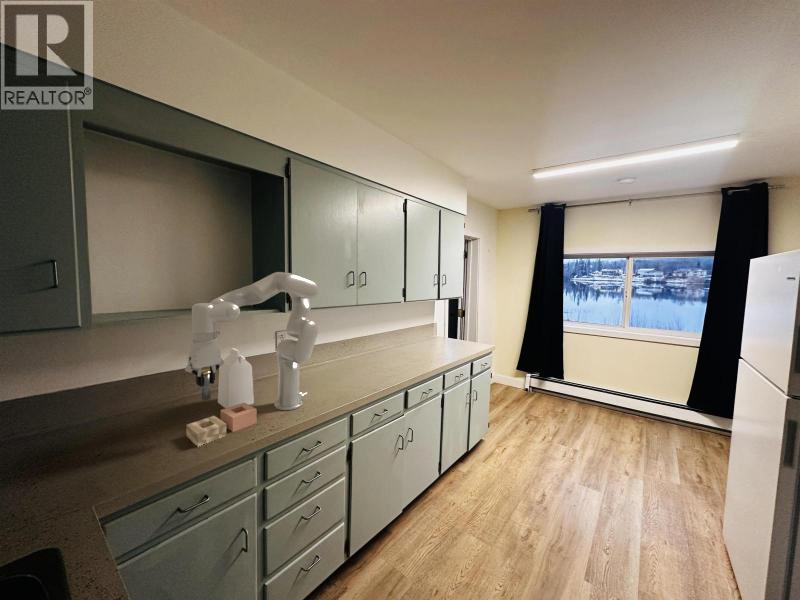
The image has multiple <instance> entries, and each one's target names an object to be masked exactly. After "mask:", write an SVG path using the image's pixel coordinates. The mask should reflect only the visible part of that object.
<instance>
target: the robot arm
mask: <svg viewBox="0 0 800 600" xmlns="http://www.w3.org/2000/svg"><path fill="white" fill-rule="evenodd" d="M279 293H287V294H288V295H289V296H290V299H291V301H292V307H291V311H290V315H289V318H288V321H287V324H286V328H285V331H286V332H285V333H286V334H287V335H288V336H289V337H292V338H296V339H297V340H293V339H291V338H289V339H288V338H285V339H282V340H280V342H278V343H277V346H276V349H275V353H276V360H277V371H278V372H277V379H278V380H277V388H278V389H277V400H276V401H275V402H274V408H275V409H277V410H279V411H291V410H296V409H298V408H300V407H301V406H302V405H303V400H302V399H303V398H305V397H307V396H308V394H309V393H308V392H307V391H306V392H302V391H300V371H301V370H300V365H305V363H307V362H308V361H309V360H310V358H311V356H312V354H313V351H314V348H315V343H316V340H317V337H318V334H319V333H318V331H319V329H318V328H319V327H318V325H317V324H316V322H315V321H314V320H312V319H309V318H310V315H311V308H312V305H311V300H313V299H314V298H316V297H317V296H318V294H319V287H318V285H317V283H316V282H314V281H313V280H310V279H307V278H305V277H303V276H300V275H297V274H294V273H291V272H283V271H276V272H273V273H271V274H268V275H267V276H265V277H263V278H261V279H260V280H258V281H256V282H253V283H251V284H249V285H245V286H242V287H241V288H238V289H234V290H231V291H228V292H226V293H224V294H222V295H219V296H218V297H216V298H214V299H213V300H211V301H210V302H199V303H194V304H193V305H192V307H191V326H192V327H191V328H192V330H191V331H192V340H190V341H189V345H188V351H187V352H188V353H187V365H186V366H185V369H184V371H185V372H187V373H190V374H192V375H195V384H196V385H197V386H198V387H200V388H201V387H202V386H203V376H201V372H202V370H203V369H204V368H208V369H210V370H211V373H210V385H211V384H212V385H213V384H215V380H216V373H217V371H218V370H219V367H220V366H221V365H223V364H224V361H223V360H224V359H222V354H221V353H222V352H221V345H220V341H219V338H218V337H217V336H220V335H221V333H220V331H217V323H218V322H220V323H221V322H223V323H225V322H226V323H229V322H234V321H235V320H237V319H238V318H239V317H240V314H241V309H240V308H241V307H244V306H248V305H249V306H253V305H257V304H261V303H264V302H266V301H267V300H269V299H270V298H272V297H274V296H276V295H277V294H279Z"/></svg>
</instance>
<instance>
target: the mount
mask: <svg viewBox="0 0 800 600" xmlns="http://www.w3.org/2000/svg"><path fill="white" fill-rule="evenodd" d="M185 427H186V429H185V430H186V438H187V437H188V438H189V439H190V440H191V441H190V440H189V439H188V438H187V439H188V440H189V441H190V442H191V443H193V444H194V445H195V446H196V445H197V448H200V447H202V446H204V445H203V444H205V445H207V444H210V443H212V442H215V441H216V440H217V439H218V440H220V439H222V437H223V438H225V437H227V428H226V423H224V422H223V421H221V418H218V417H217V416H216V415H212V416H209V417H206V418H202V419H200V420H197V421H194V422H191V423H188V424H186V425H185ZM219 438H220V439H219ZM214 440H215V441H214ZM211 441H212V442H211ZM209 442H210V443H209ZM206 443H207V444H206ZM201 445H202V446H201ZM199 446H200V447H199Z"/></svg>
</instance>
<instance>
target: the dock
mask: <svg viewBox="0 0 800 600" xmlns="http://www.w3.org/2000/svg"><path fill="white" fill-rule="evenodd" d="M257 410H258V409H257V408H255V407H253V406H251V404H249V405H248V404H246V403H241V404H238V405H235V406H232V407H228V408H225V407H224V408H222V409H220V420H221V421H223V422H224V423H226V429H228V430H229V431H230V430H231V431H230V432H232V433H235V432H237V431H240V430H242V429H245V428H247V427H250V426H252V425H255V424H257V423H258V421H257V420H258V419H257V418H258V417H257V415H258V413H257V412H258V411H257Z"/></svg>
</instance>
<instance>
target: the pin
mask: <svg viewBox="0 0 800 600" xmlns="http://www.w3.org/2000/svg"><path fill="white" fill-rule="evenodd" d="M210 373H211V370H210V369H209V368H207V369H206V368H205V369H202V372H201V376H203V386H202V387H200V389H201V392H200V393H201V400H202V401H208V400H211V397H212V396H211V395H212V394H211V393H212V391H211V383H210Z"/></svg>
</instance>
